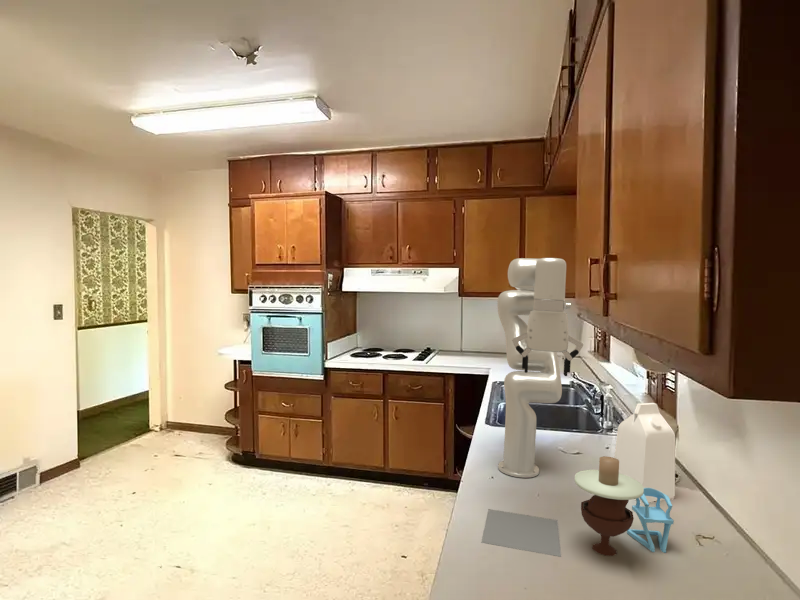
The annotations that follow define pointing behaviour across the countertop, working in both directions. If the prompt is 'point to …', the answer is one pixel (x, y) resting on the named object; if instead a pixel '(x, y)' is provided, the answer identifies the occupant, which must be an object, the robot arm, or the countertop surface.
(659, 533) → the chair
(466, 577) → the countertop surface
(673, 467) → the milk
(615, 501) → the ice cream bowl
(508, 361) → the robot arm
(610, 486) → the lid
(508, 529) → the mat
